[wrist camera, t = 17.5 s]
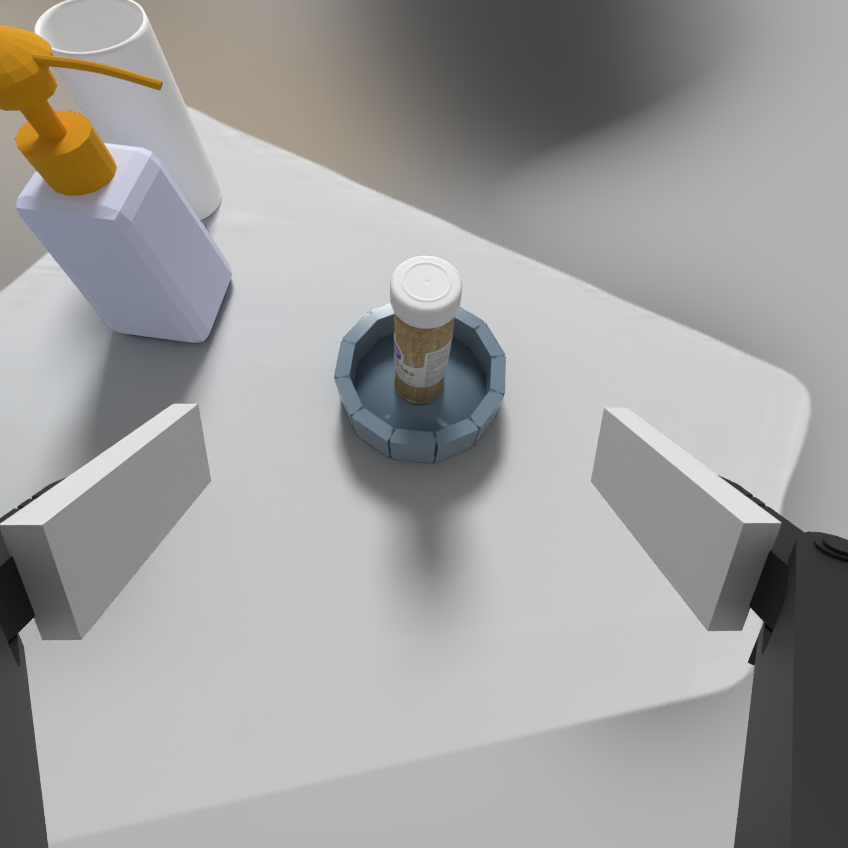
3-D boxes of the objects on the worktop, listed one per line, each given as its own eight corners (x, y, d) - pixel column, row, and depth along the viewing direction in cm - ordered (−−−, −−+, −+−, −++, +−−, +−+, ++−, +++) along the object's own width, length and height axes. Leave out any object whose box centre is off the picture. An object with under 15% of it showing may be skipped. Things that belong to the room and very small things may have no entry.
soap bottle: (254, 356, 42) (111, 110, 22) (110, 337, 43) (-165, 77, 22) (281, 276, 46) (180, 3, 26) (148, 259, 46) (-57, -24, 26)
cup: (232, 210, 49) (158, 37, 35) (157, 235, 48) (45, 64, 33) (209, 163, 52) (131, -15, 37) (136, 186, 50) (25, 7, 36)
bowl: (378, 487, 38) (375, 473, 34) (321, 354, 42) (313, 329, 39) (524, 425, 40) (536, 405, 37) (455, 306, 45) (459, 279, 41)
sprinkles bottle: (384, 378, 40) (375, 272, 28) (425, 353, 42) (434, 242, 29) (413, 416, 39) (417, 323, 27) (455, 390, 40) (478, 288, 28)
